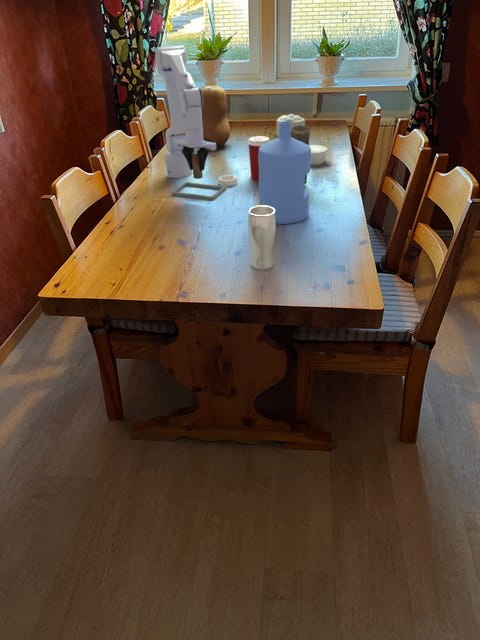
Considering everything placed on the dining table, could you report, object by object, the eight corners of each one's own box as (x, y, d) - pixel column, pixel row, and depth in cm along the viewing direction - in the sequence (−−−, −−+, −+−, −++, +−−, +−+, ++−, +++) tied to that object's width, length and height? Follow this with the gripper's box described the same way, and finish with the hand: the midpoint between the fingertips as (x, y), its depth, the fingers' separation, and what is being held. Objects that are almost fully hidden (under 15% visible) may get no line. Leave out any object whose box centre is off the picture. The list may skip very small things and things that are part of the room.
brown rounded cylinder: (309, 183, 180) (311, 125, 169) (304, 190, 175) (307, 131, 163) (288, 181, 183) (290, 124, 171) (283, 188, 177) (284, 130, 166)
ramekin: (295, 164, 199) (296, 151, 196) (303, 156, 207) (303, 143, 204) (322, 167, 195) (323, 153, 192) (329, 159, 204) (330, 145, 201)
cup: (216, 187, 180) (215, 179, 178) (223, 181, 185) (223, 174, 183) (232, 189, 178) (232, 181, 176) (239, 183, 183) (239, 175, 181)
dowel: (191, 178, 171) (189, 154, 166) (196, 175, 173) (194, 151, 168) (199, 179, 169) (197, 155, 165) (204, 176, 172) (202, 152, 167)
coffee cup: (268, 184, 181) (268, 142, 172) (246, 183, 183) (245, 141, 174) (272, 176, 188) (272, 135, 179) (250, 175, 189) (249, 135, 181)
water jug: (275, 229, 148) (275, 132, 132) (250, 212, 160) (248, 121, 144) (318, 218, 154) (324, 124, 138) (291, 202, 166) (293, 113, 150)
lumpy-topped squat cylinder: (278, 132, 242) (278, 113, 237) (305, 132, 239) (305, 113, 234) (275, 137, 233) (275, 118, 228) (303, 138, 231) (304, 118, 226)
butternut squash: (236, 144, 226) (234, 84, 212) (220, 151, 217) (216, 89, 203) (211, 140, 232) (208, 82, 218) (194, 148, 223) (189, 87, 209)
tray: (171, 197, 173) (171, 192, 172) (186, 186, 181) (185, 182, 180) (213, 202, 168) (213, 197, 167) (226, 191, 176) (226, 186, 175)
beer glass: (247, 259, 133) (246, 206, 125) (273, 257, 133) (273, 204, 125) (250, 271, 127) (249, 216, 119) (277, 269, 128) (277, 215, 119)
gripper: (168, 129, 161) (173, 171, 169) (208, 132, 156) (211, 175, 164) (178, 124, 167) (182, 165, 174) (217, 127, 162) (220, 168, 170)
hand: (197, 169), depth 170 cm, fingers closed on dowel, 3 cm apart
